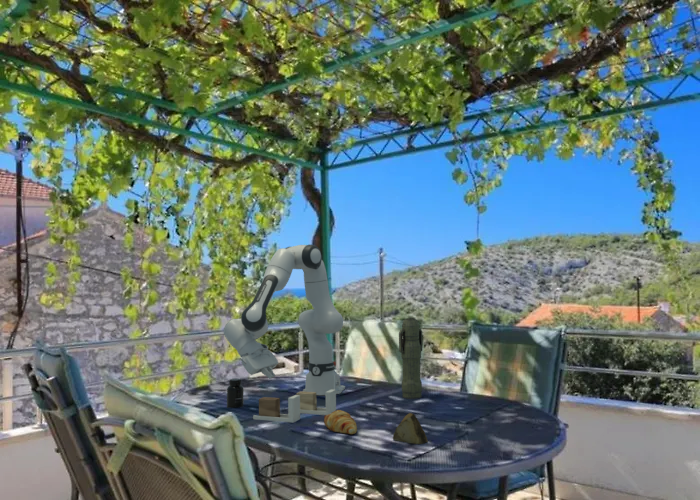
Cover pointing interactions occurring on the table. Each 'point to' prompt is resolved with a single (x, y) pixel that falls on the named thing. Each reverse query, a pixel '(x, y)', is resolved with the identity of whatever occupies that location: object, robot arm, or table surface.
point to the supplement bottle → (235, 394)
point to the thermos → (411, 358)
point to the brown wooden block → (269, 407)
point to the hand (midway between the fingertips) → (272, 377)
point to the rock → (410, 431)
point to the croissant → (340, 422)
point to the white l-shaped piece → (330, 405)
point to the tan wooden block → (307, 400)
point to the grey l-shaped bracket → (292, 412)
